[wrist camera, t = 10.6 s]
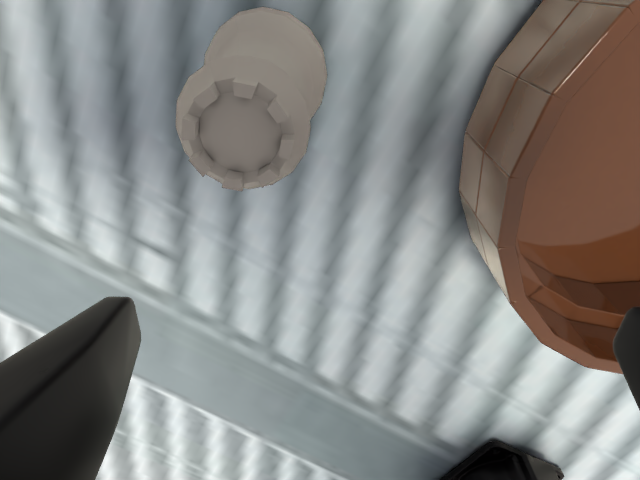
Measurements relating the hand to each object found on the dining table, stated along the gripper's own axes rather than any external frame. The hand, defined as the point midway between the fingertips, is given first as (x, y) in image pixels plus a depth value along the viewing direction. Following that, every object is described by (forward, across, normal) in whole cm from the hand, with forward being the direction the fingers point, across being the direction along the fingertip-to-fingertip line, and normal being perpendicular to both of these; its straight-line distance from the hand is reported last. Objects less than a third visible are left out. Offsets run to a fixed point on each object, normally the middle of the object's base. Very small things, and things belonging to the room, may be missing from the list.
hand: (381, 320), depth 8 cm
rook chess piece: (+12, +3, -2) cm, 12 cm away
